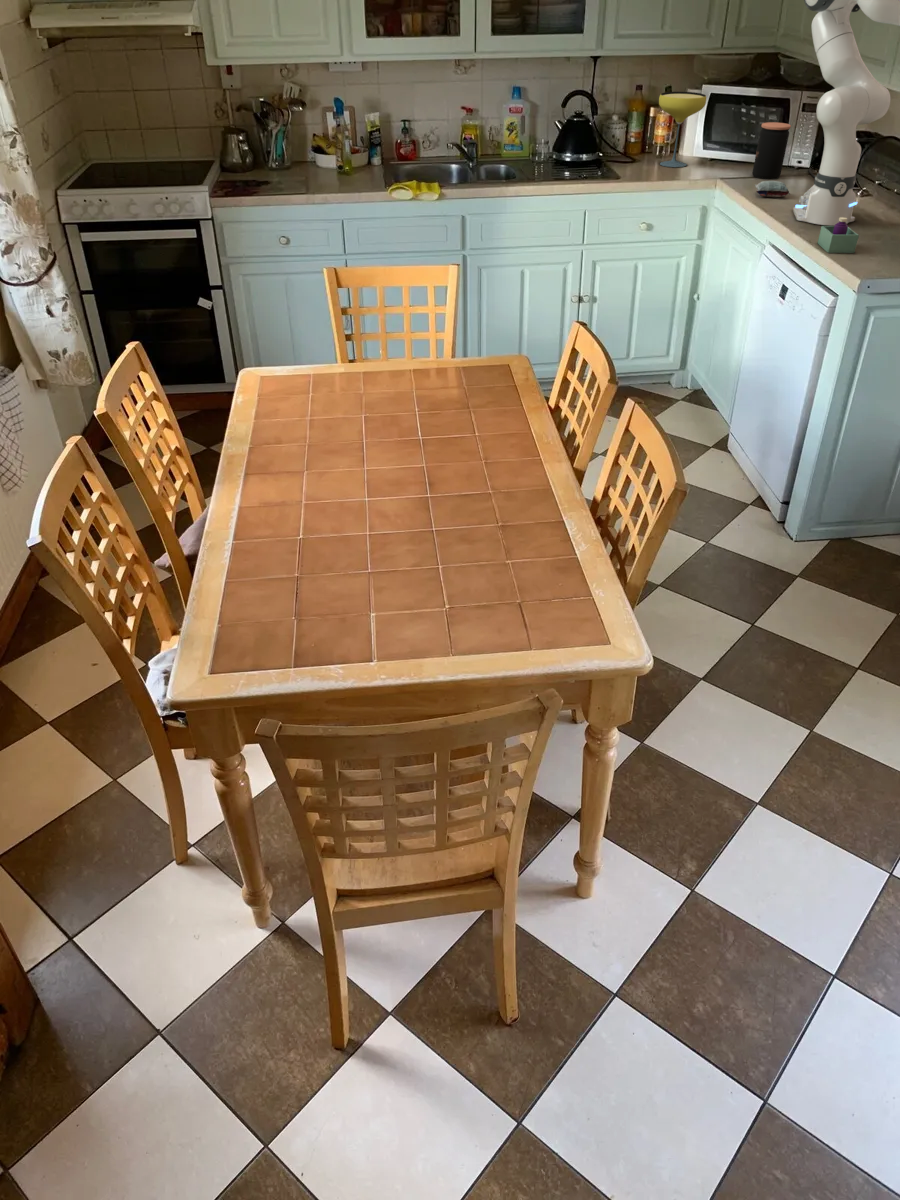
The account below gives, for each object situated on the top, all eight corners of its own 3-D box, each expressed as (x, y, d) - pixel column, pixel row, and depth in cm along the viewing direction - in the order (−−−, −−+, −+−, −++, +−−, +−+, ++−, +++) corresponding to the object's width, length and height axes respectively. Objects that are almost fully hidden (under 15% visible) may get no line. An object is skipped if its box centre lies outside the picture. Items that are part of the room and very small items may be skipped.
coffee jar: (760, 172, 350) (770, 121, 339) (785, 176, 344) (796, 124, 333) (746, 176, 344) (756, 124, 333) (771, 180, 338) (782, 128, 327)
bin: (817, 243, 272) (821, 225, 269) (842, 243, 272) (847, 226, 268) (828, 252, 264) (832, 235, 261) (854, 252, 264) (859, 235, 261)
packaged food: (753, 192, 324) (756, 177, 321) (787, 193, 322) (790, 179, 319) (755, 198, 317) (757, 183, 314) (789, 200, 315) (792, 185, 312)
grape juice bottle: (827, 244, 269) (834, 216, 264) (840, 244, 269) (847, 216, 264) (831, 247, 266) (839, 219, 261) (844, 248, 266) (852, 219, 261)
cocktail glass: (646, 167, 358) (655, 96, 342) (656, 158, 371) (665, 90, 356) (691, 171, 352) (702, 99, 337) (699, 162, 365) (710, 93, 350)
